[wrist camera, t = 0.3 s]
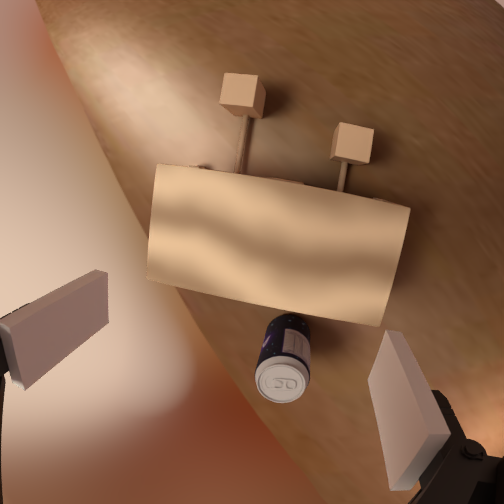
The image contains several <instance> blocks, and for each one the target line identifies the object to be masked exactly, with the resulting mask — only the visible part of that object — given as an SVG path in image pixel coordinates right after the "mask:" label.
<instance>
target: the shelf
mask: <svg viewBox="0 0 504 504" xmlns="http://www.w3.org/2000/svg"><path fill="white" fill-rule="evenodd" d="M410 209H411V208H408V207H405V206H402V205H399V204H396V203H393V202H390V201H386V200H383V199H379V198H375V197H373V199H371V198H366V197H362V196H357V195H352V194H348V193H343V192H338V191H333V190H328V189H323V188H318V187H313V186H308V185H303V183H302V182H296V181H291V180H285V179H280V178H262V177H256V176H250V175H243V174H237V173H230V172H223V171H216V170H209V169H205V167H200V166H189V167H185V166H177V165H168V164H157V167H156V175H155V183H154V192H153V201H152V210H151V220H150V232H149V244H148V258H147V275H146V276H147V277H146V279H148V280H152V281H156V282H160V283H164V284H168V285H172V286H177V287H181V288H185V289H189V290H194V291H198V292H202V293H207V294H211V295H216V296H220V297H225V298H229V299H234V300H239V301H243V302H248V303H253V304H258V305H263V306H268V307H272V308H277V309H283V310H288V311H293V312H298V313H303V314H309V315H314V316H319V317H325V318H330V319H336V320H342V321H347V322H353V323H359V324H365V325H371V326H377V327H379V326H380V323H381V320H382V317H383V314H384V311H385V308H386V304H387V301H388V298H389V294H390V291H391V287H392V284H393V280H394V277H395V273H396V269H397V265H398V261H399V258H400V254H401V249H402V245H403V241H404V237H405V232H406V228H407V223H408V219H409V214H410Z"/></svg>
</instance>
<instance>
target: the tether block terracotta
mask: <svg viewBox="0 0 504 504" xmlns="http://www.w3.org/2000/svg"><path fill="white" fill-rule="evenodd" d="M265 97H266V91H265V89H264V87H263V85H262V83H261V81H260V79H259V77H258V76H256V75H245V74H233V73H225V75H224V80H223V86H222V91H221V97H220V102H219V104H220V105H222V106H223V107H224V108H225V109H227V110H228V111H229V112H230V113H232V114H233V115H234V116H242V117H243V119H242V125H241V131H240V137H239V143H238V150H237V156H236V162H235V169H234V173H237V174H240V170H241V163H242V157H243V151H244V144H245V138H246V132H247V126H248V120H249V117H251V118H259V119H262V116H263V110H264V103H265Z"/></svg>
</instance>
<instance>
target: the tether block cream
mask: <svg viewBox="0 0 504 504" xmlns="http://www.w3.org/2000/svg"><path fill="white" fill-rule="evenodd" d="M373 133H374V130H373V129H369V128H365V127H361V126H356V125H352V124H347V123H342V122H340V123H339V125H338V126H337V128H336V129H335V131H334V135H333V141H332V148H331V154H330V160H335V161H339V162H342V164H341V170H340V176H339V182H338V187H337V191H338V192H343V188H344V183H345V177H346V171H347V165H348V163H349V164H354V165H362V164H367V163H369V159H370V153H371V147H372V140H373Z"/></svg>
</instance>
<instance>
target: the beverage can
mask: <svg viewBox="0 0 504 504" xmlns="http://www.w3.org/2000/svg"><path fill="white" fill-rule="evenodd" d="M255 381H256V383H257V388H258V390H259V392H260V393H261V394H262V395H263V396H264V397H265V398H267V399H268V400H270V401H273V402H278V403H286V402H291V401H294V400H296V399H297V398H299V397H300V396H301V395H302V394H303V392H304V390H305V389H306V387H307V386H308V384H309V381H310V330H309V327H308V325H307V324H306V323H305V322H304V321H303V320H302V319H301V318H299V317H297V316H293V315H283V316H279V317H277V318H275V319H274V320H272V321H271V323H270V324H269V325H268V327H267V331H266V334H265V338H264V342H263V345H262V349H261V352H260V356H259V360H258V363H257V367H256V370H255Z"/></svg>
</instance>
